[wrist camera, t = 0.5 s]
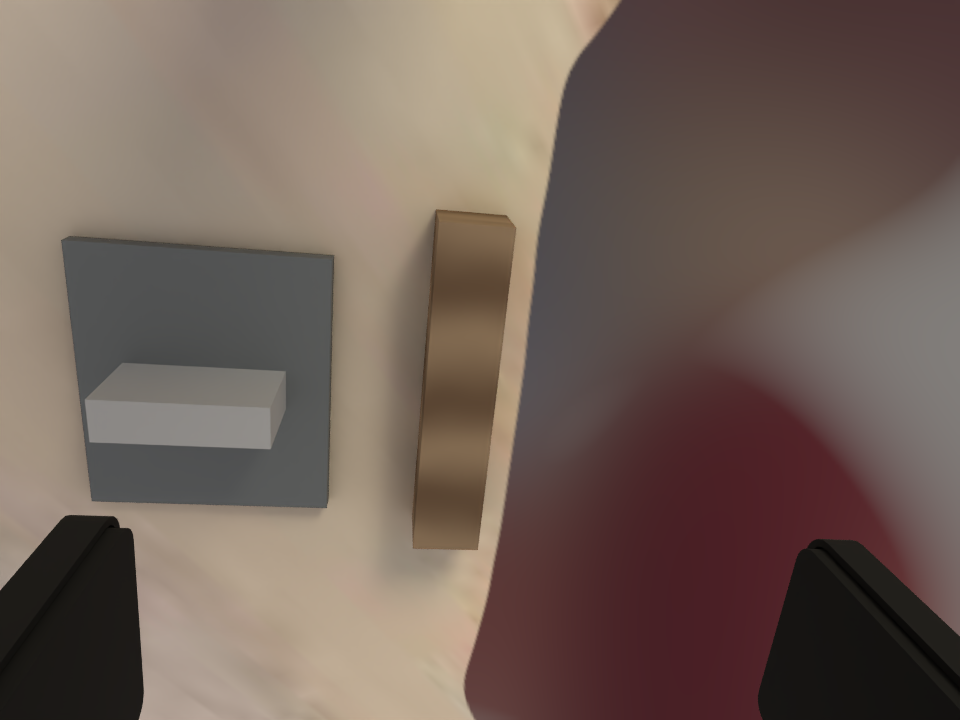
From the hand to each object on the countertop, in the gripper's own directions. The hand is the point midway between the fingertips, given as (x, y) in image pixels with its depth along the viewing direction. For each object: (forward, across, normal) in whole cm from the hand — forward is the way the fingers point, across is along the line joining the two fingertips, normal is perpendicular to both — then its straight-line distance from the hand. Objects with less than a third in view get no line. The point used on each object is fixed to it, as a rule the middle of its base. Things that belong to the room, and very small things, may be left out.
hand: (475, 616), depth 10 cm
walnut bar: (+32, -3, +8) cm, 34 cm away
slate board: (+32, +12, +9) cm, 35 cm away
